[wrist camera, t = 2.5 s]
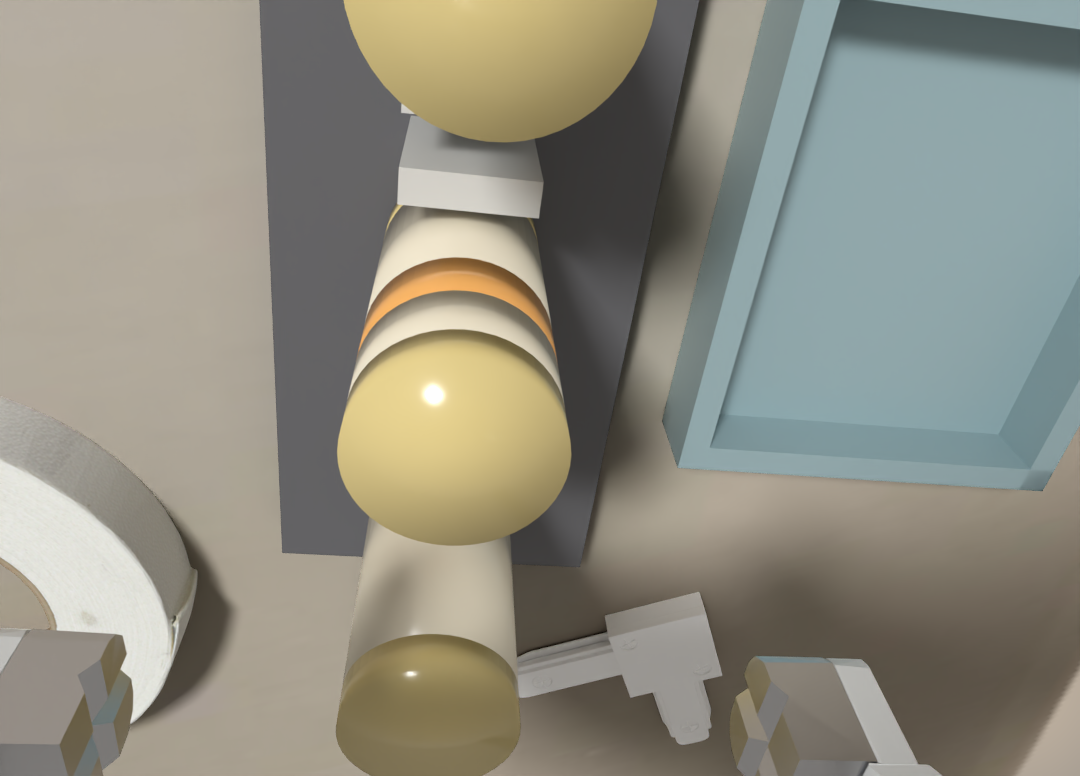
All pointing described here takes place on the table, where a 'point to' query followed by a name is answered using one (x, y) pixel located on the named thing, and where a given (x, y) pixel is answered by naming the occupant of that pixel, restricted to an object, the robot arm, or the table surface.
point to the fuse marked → (456, 382)
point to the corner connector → (640, 662)
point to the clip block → (455, 184)
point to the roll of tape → (93, 544)
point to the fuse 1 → (501, 59)
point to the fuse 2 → (431, 659)
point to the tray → (893, 250)
